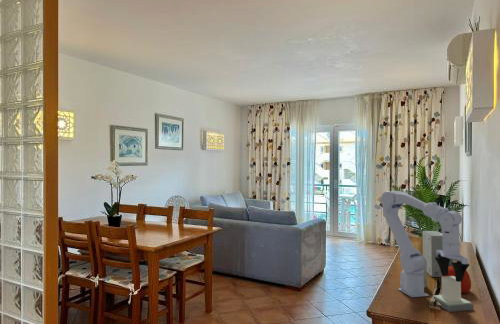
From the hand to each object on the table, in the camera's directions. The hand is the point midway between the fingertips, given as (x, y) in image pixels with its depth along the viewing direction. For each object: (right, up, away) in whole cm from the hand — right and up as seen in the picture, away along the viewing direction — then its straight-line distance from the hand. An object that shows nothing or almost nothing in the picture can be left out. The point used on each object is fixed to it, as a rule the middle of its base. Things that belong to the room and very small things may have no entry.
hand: (451, 278), depth 134 cm
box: (-2, -11, +22) cm, 25 cm away
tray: (0, -10, 0) cm, 10 cm away
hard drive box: (+15, -11, +41) cm, 45 cm away
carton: (0, -8, 0) cm, 8 cm away
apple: (+11, -11, +16) cm, 22 cm away
